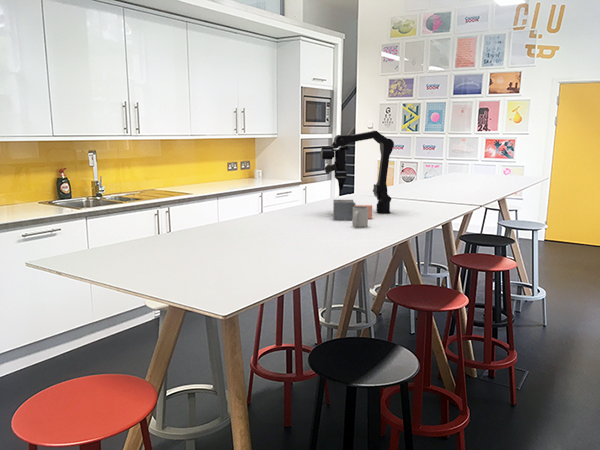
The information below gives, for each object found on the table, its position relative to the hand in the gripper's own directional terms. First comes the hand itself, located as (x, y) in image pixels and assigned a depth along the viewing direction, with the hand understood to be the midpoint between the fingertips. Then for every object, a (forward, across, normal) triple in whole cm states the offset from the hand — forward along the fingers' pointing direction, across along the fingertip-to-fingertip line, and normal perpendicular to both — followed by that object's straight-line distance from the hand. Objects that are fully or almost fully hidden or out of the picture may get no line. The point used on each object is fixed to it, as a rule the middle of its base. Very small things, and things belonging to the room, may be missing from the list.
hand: (340, 188), depth 268 cm
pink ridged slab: (+13, +13, +7) cm, 20 cm away
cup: (+14, +33, +8) cm, 37 cm away
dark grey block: (+14, +14, +1) cm, 19 cm away
